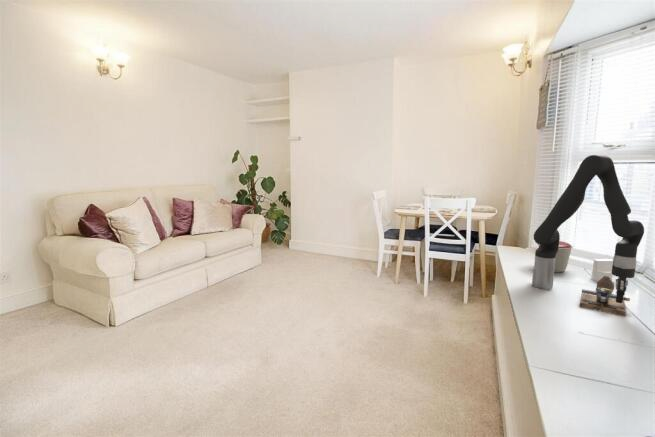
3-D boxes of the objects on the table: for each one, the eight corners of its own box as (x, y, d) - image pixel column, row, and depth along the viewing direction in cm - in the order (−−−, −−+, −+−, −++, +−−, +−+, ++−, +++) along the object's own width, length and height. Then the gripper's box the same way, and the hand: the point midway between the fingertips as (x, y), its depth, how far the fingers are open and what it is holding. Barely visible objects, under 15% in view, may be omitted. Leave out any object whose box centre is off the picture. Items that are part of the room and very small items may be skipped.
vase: (616, 295, 162) (618, 279, 160) (600, 295, 163) (602, 278, 162) (607, 290, 168) (609, 274, 167) (592, 289, 170) (594, 274, 168)
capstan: (580, 302, 150) (581, 290, 149) (582, 292, 162) (583, 280, 161) (630, 312, 139) (632, 299, 138) (628, 300, 151) (630, 288, 150)
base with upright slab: (604, 277, 187) (606, 257, 185) (616, 282, 178) (618, 262, 176) (587, 277, 188) (589, 257, 186) (598, 282, 179) (601, 262, 177)
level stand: (579, 306, 151) (580, 301, 151) (581, 296, 162) (581, 291, 161) (625, 315, 141) (626, 310, 141) (623, 304, 151) (624, 299, 151)
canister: (568, 268, 205) (572, 235, 201) (571, 276, 190) (575, 242, 186) (535, 264, 214) (537, 233, 211) (535, 271, 199) (538, 239, 196)
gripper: (612, 260, 148) (607, 295, 151) (612, 267, 138) (607, 305, 141) (634, 263, 143) (629, 299, 146) (636, 271, 133) (631, 309, 136)
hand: (618, 302), depth 143 cm, fingers closed
